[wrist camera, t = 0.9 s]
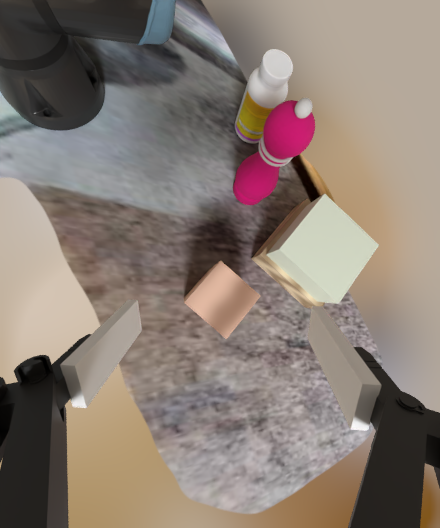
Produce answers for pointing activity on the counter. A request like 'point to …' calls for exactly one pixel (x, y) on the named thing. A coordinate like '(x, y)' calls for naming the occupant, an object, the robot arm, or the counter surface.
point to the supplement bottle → (263, 94)
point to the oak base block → (276, 270)
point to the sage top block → (323, 250)
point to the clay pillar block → (221, 298)
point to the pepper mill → (275, 150)
